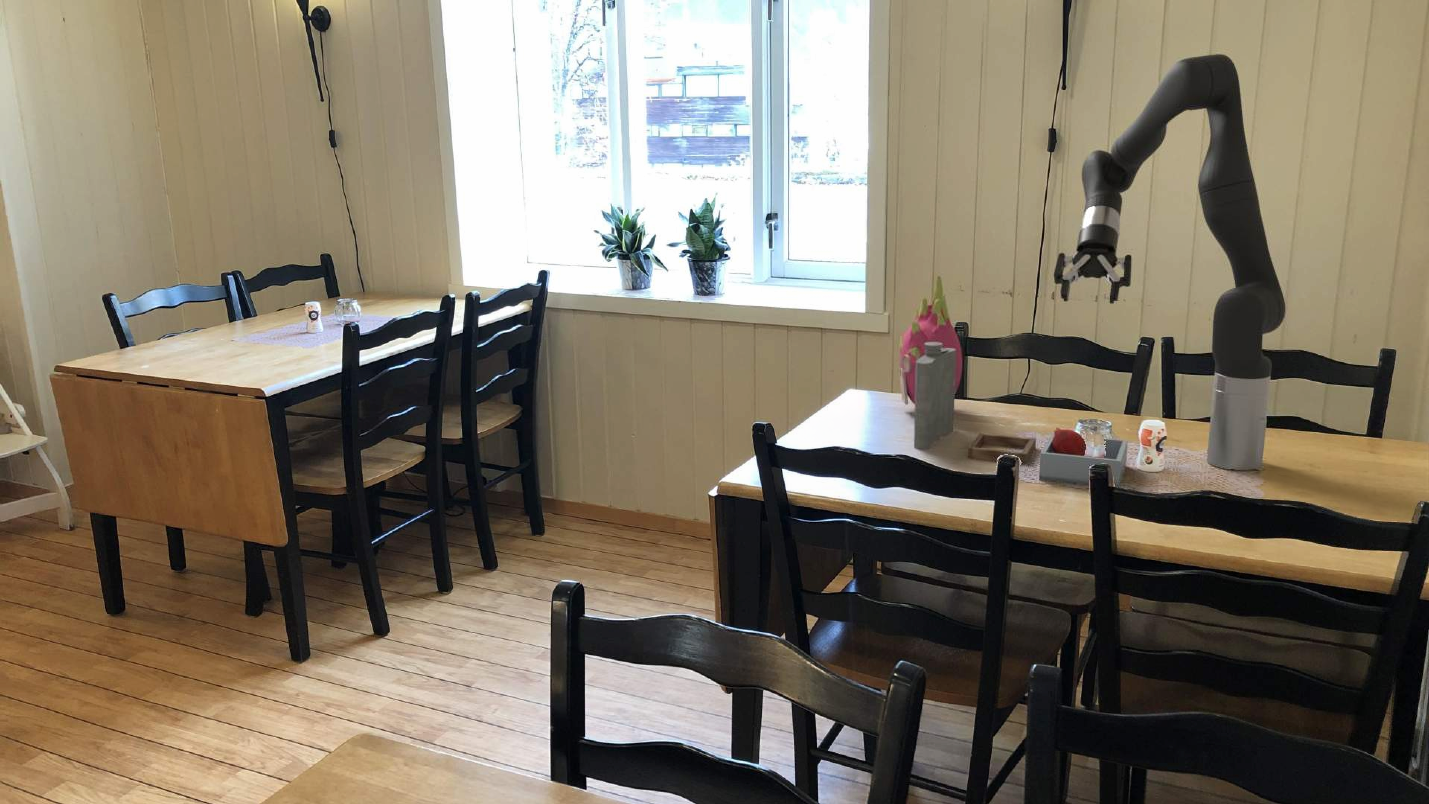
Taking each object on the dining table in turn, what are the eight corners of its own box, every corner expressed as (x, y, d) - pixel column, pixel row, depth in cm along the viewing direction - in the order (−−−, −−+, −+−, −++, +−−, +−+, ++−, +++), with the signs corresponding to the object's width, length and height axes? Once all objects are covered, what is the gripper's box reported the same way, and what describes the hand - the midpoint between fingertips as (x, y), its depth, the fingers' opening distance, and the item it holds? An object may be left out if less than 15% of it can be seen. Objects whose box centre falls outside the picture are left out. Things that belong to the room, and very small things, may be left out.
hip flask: (926, 450, 217) (928, 351, 212) (907, 447, 220) (909, 349, 214) (955, 430, 230) (958, 336, 225) (937, 428, 232) (939, 335, 227)
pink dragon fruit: (886, 403, 253) (888, 273, 246) (943, 399, 255) (946, 270, 248) (913, 423, 236) (915, 284, 229) (973, 419, 238) (977, 281, 231)
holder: (1035, 448, 217) (1035, 438, 216) (1025, 464, 207) (1026, 454, 207) (979, 442, 221) (979, 433, 221) (967, 458, 212) (967, 448, 211)
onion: (1095, 452, 198) (1068, 416, 201) (1068, 470, 199) (1041, 434, 202) (1094, 455, 204) (1068, 421, 206) (1068, 473, 205) (1042, 438, 207)
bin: (1125, 465, 205) (1127, 440, 204) (1118, 488, 193) (1120, 461, 192) (1050, 458, 210) (1051, 433, 209) (1039, 479, 198) (1040, 453, 197)
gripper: (1060, 221, 220) (1049, 287, 213) (1136, 222, 214) (1127, 290, 207) (1063, 245, 226) (1051, 309, 219) (1136, 247, 220) (1127, 313, 213)
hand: (1088, 300), depth 213 cm, fingers open, 8 cm apart
